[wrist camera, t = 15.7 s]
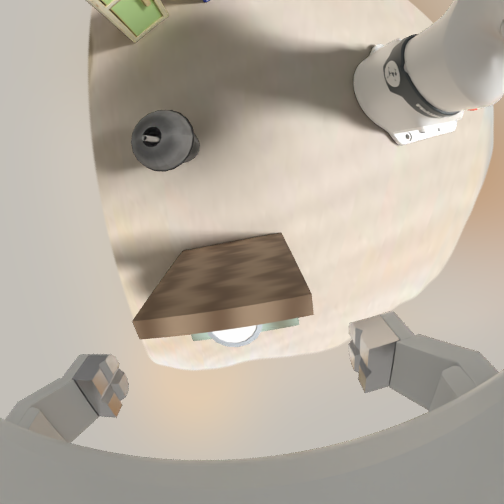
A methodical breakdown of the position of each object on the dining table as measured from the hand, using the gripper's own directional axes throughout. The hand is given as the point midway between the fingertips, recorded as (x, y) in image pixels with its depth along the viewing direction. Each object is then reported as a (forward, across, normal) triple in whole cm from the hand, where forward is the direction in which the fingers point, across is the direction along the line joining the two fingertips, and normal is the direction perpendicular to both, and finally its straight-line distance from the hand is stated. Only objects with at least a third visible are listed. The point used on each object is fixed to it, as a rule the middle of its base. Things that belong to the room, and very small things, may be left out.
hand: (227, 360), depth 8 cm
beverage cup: (+35, -7, +11) cm, 38 cm away
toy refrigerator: (+35, -11, +37) cm, 52 cm away
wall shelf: (+35, -3, -11) cm, 37 cm away
